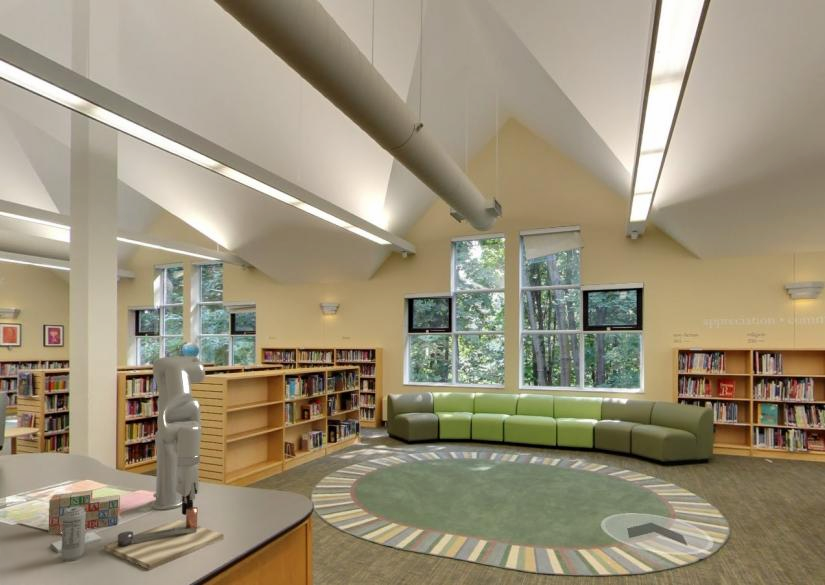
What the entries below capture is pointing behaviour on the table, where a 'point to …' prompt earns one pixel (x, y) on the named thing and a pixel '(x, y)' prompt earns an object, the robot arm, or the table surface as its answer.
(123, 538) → the lever
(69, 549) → the energy drink can
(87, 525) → the stack of blocks
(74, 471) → the table surface
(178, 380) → the robot arm
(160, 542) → the board
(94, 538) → the external hard drive
